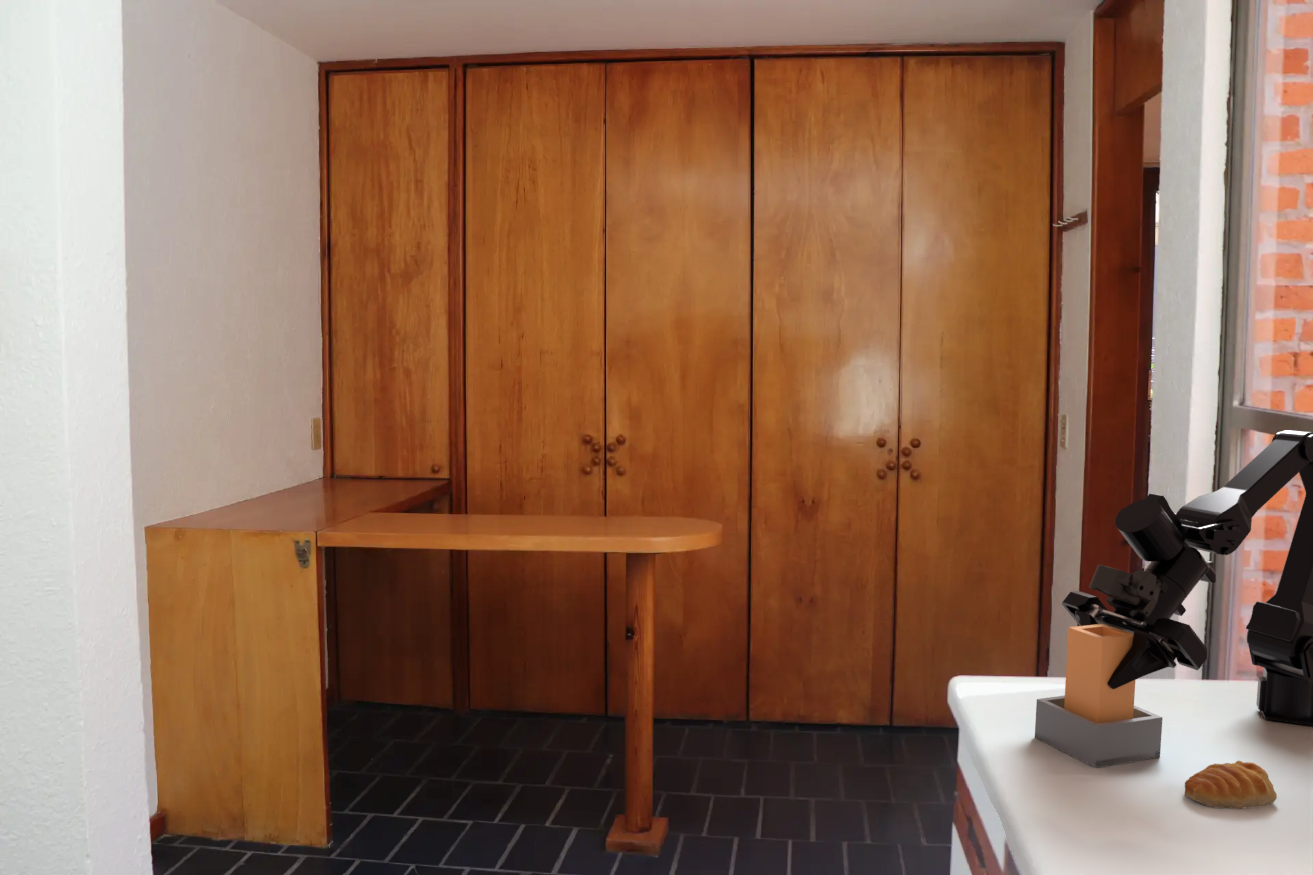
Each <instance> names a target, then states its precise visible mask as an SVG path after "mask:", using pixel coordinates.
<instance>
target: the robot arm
mask: <svg viewBox="0 0 1313 875" xmlns="http://www.w3.org/2000/svg"><path fill="white" fill-rule="evenodd" d="M1298 474H1299V476H1300V480H1301V482H1302V486H1303V488H1304V491H1305V496H1304V499H1303V503H1302V506H1301V509H1300V513H1299V516H1298V520H1297V523H1296V526H1295V529H1294V532H1293V535H1292V538H1291V542H1290V546H1289V548H1288V549H1289V550H1288V552H1287V556H1286V559H1285V562H1284V565H1283V569H1282V572H1281V576H1280V579H1279V583H1278V584H1277V588H1276V591H1275V593H1274V595H1272V596H1271V597H1270V598H1268V599H1267V600H1266V601H1265V602H1263V601H1256V602H1255V604H1254V605H1253V606H1252V610H1251V616H1250V619H1249V621H1248V623H1247V625H1246V626H1245V629H1246V630H1247V634H1246V642H1247V645H1248V649H1249V654H1250V660H1251V664H1252V665H1253V666H1256V667H1261V668H1263V673H1262V674H1263V675H1260V676H1258V679H1257V689H1256V690H1257V692H1256V707H1257V709H1258V710H1259V711H1260V713H1261V714H1262V717H1263V719H1265V720H1270V721H1277V722H1283V723H1284V722H1285V723H1291V724H1296V725H1297V724H1300V725H1306V726H1312V727H1313V432H1311V431H1303V430H1302V431H1301V430H1290V429H1285V430H1283V431H1278V432H1276V433H1275V434H1274V436H1273V437H1272V439H1271V442H1270V444H1268V445H1267V446H1266V447H1265V448H1264V449H1263V450H1262V451H1260V453H1258V454H1257V455H1256V456H1255V457H1254V458H1253V459H1252V460H1250V462H1249V463H1247V464H1246V465H1245V467H1243V468H1242V469H1241V470H1240V471H1239V472H1238V473H1236V474H1235V475H1234V476H1233V477H1232V478H1231V479H1230V480H1229V481H1227V483H1226V484H1225V485H1223V486H1222V487H1221V488H1219V489H1218V490H1216V491H1213V492H1209V493H1205V494H1203V495H1200V496H1197V497H1195V498H1194V499H1192V500H1191V501H1189V502H1188V503H1186V504H1184V505H1183V506H1182V507H1180V508H1179V510H1178V511H1177V512H1174V511H1173V510H1172V508H1171V507H1170V505H1169V502H1168V500H1167V498H1166V497H1165V496H1164V495H1163V494H1157V493H1151V492H1150V493H1149V494H1147V496H1146V497H1145V499H1140V500H1137V501H1134V502H1132V503H1130V504H1128V505H1126V506H1125V507H1123V508H1121V509H1120V510H1119V512H1117V515H1116V517H1115V521H1114V522H1115V523H1114V524H1115V526H1116V528H1117V530H1118V531H1119V532H1120V534H1121V535H1122V536H1123V537H1124V539H1125V540H1126V542H1127V543H1128V544H1129V546H1130V547H1131V548H1132V549H1133V551H1134V552H1135V554H1136V555H1137V556H1138V557H1139V558H1140V560H1143V561H1146V562H1150V563H1149V564H1148V565H1147V567H1146V568H1145V569H1144V570H1141V569H1137V570H1135V571H1134V572H1132V573H1129V572H1126V571H1124V570H1121V569H1117V568H1113V567H1110V566H1107V565H1103V564H1098V565H1097V567H1096V568H1095V571H1094V574H1093V576H1092V579H1091V580H1090V581H1091V582H1090V584H1089V586H1088V588H1089V589H1091V590H1093V591H1097V592H1100V593H1101V594H1103V595H1105V596H1107V598H1106V599H1105V601H1106V602H1107V603H1108V604H1109V606H1111V607H1113V608H1114V610H1113V611H1110V610H1109V609H1107V607H1106V606H1105V605H1104V604H1103V602H1102V601H1101V599H1100V598H1099V597H1098V596H1095V595H1092V594H1090V593H1087V592H1083V591H1080V590H1073V591H1070V592H1069V593H1068V594H1067V595H1066V597H1065V598H1064V600H1063V601H1062V602H1061V606H1062V607H1064V609H1065V610H1066V611H1067V612H1068V613H1069V615H1070V616H1071V617H1072V618H1073V620H1074V621H1075V622H1076V623H1077V625H1078V626H1086V625H1095V624H1106V625H1109V626H1112V627H1115V628H1118V629H1121V630H1124V631H1127V632H1130V633H1133V634H1134V635H1133V642H1132V647H1131V649H1130V650H1129V651H1128V653H1127V654H1126V655H1125V657H1124V658H1123V660H1122V661H1121V662H1120V664H1119V665H1118V667H1117V668H1116V669H1115V671H1114V672H1113V674H1112V676H1111V677H1110V679H1109V681H1108V685H1109V687H1110V688H1112V689H1116V688H1118V687H1120V686H1122V685H1125V684H1127V683H1129V682H1131V681H1134V680H1135V681H1136V680H1138V679H1140V678H1142V677H1145V676H1147V675H1150V674H1152V673H1156V672H1158V671H1162V670H1164V669H1166V668H1172V669H1174V668H1176V667H1177V665H1178V664H1179V665H1181V666H1183V667H1187V668H1190V669H1193V670H1195V671H1199V670H1200V669H1201V667H1202V666H1203V664H1204V663H1205V662H1206V661H1207V660H1208V659H1207V658H1208V647H1207V646H1206V645H1205V644H1204V643H1203V641H1202V639H1200V637H1199V636H1198V634H1197V633H1196V631H1195V630H1194V629H1193V628H1192V627H1191V625H1190V624H1187V623H1184V622H1181V621H1177V620H1174V619H1172V617H1173V616H1174V615H1177V616H1180V617H1182V616H1183V615H1184V614H1185V613H1186V611H1187V609H1186V607H1184V605H1183V603H1184V601H1185V600H1186V599H1187V598H1188V596H1189V595H1190V594H1191V592H1192V591H1193V589H1194V588H1195V587H1196V586H1197V584H1198V583H1199V582H1200V581H1201V582H1205V583H1210V584H1215V583H1216V582H1217V578H1216V576H1217V575H1216V573H1215V570H1214V562H1213V561H1211V560H1207V559H1205V558H1204V556H1203V555H1202V553H1201V552H1200V551H1202V552H1203V551H1204V552H1207V553H1211V554H1214V555H1215V554H1216V555H1222V556H1229V555H1231V554H1233V553H1234V552H1235V551H1236V550H1237V549H1239V547H1240V546H1241V544H1242V543H1243V541H1244V540H1245V539H1246V538H1247V536H1248V535H1249V534H1250V533H1251V531H1252V522H1253V521H1252V520H1253V517H1254V516H1255V515H1256V513H1257V512H1258V511H1259V510H1260V509H1261V508H1263V507H1264V506H1265V505H1266V504H1267V503H1268V502H1269V501H1270V500H1271V499H1272V498H1273V497H1274V496H1275V495H1276V494H1277V493H1279V492H1280V491H1281V489H1283V488H1284V487H1285V486H1286V485H1287V484H1288V483H1289V482H1290V481H1291V480H1292V479H1293V478H1294V477H1296V476H1297V475H1298ZM1175 660H1176V661H1175ZM1176 662H1177V663H1178V664H1177V663H1176Z"/></svg>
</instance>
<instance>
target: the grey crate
mask: <svg viewBox="0 0 1313 875" xmlns="http://www.w3.org/2000/svg"><path fill="white" fill-rule="evenodd" d="M1064 702H1065V694H1064V695H1058V696H1050V697H1043V698H1037V699H1036V706H1035V725H1034V726H1035V727H1034V738H1035V739H1037V740H1039V741H1042V742H1043V743H1044V744H1047V745H1049V746H1051V747H1053V748H1055V749H1056V750H1059V751H1061V752H1063V753H1065V754H1067V755H1069V756H1070V757H1073V758H1074V759H1077V760H1079V761H1081V762H1082V763H1084V764H1087V765H1089V766H1091V767H1092V768H1094V769H1097V768H1102V767H1103V768H1104V767H1109V766H1115V765H1120V764H1127V763H1133V762H1134V763H1135V762H1139V761H1144V760H1145V761H1146V760H1149V759H1150V760H1151V759H1156V758H1157V759H1158V758H1160V757H1161V745H1162V731H1163V716H1161V715H1158V714H1156V713H1154V712H1150V711H1148V710H1146V709H1144V708H1142V707H1139V706H1136V705H1134V712H1133V719H1127V720H1121V721H1114V722H1107V723H1100V724H1097V723H1095V722H1092V721H1090V720H1088V719H1086V718H1084V717H1081V716H1079V715H1077V714H1075V713H1073V712H1070V711H1068V710H1066V709H1064Z"/></svg>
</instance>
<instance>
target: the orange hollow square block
mask: <svg viewBox="0 0 1313 875" xmlns="http://www.w3.org/2000/svg"><path fill="white" fill-rule="evenodd" d="M1133 635H1134V634H1133V633H1130V632H1127V631H1124V630H1121V629H1118V628H1115V627H1112V626H1109V625H1106V624H1095V625H1086V626H1079V625H1077V626H1069V627H1068V631H1067V645H1066V646H1067V647H1066V649H1067V650H1066V651H1067V652H1066V666H1065V667H1066V669H1065V684H1064V685H1065V687H1064V688H1065V689H1064V695H1065V702H1064V709H1066V710H1068V711H1070V712H1073V713H1075V714H1077V715H1079V716H1081V717H1084V718H1086V719H1088V720H1090V721H1092V722H1095V723H1097V724H1100V723H1107V722H1114V721H1121V720H1127V719H1133V712H1134V706H1135V696H1136V695H1135V692H1136V691H1135V690H1136V680H1134V681H1131V682H1129V683H1127V684H1125V685H1122V686H1120V687H1118V688H1116V689H1112V688H1110V687H1109V685H1108V681H1109V679H1110V677H1111V676H1112V674H1113V672H1114V671H1115V669H1116V668H1117V667H1118V665H1119V664H1120V662H1121V661H1122V660H1123V658H1124V657H1125V655H1126V654H1127V653H1128V651H1129V650H1130V649H1131V647H1132V642H1133Z"/></svg>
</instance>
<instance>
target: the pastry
mask: <svg viewBox="0 0 1313 875" xmlns="http://www.w3.org/2000/svg"><path fill="white" fill-rule="evenodd" d="M1183 793H1184V797H1188V798H1190V799H1191V800H1193V801H1196V802H1198V803H1201V804H1202V805H1205V806H1207V807H1210V808H1224V809H1235V810H1243V809H1249V808H1262V807H1267V806H1270V805H1272V804H1273V803H1274V802H1275V801H1276V800H1277V798H1278V794H1277V792H1276V791H1275V787H1274V784H1273V782H1272V781H1271V780H1270V778H1269V774H1268V772H1267V771H1266V769H1264V768H1262V767H1261V766H1260V765H1258V764H1256V763H1254V762H1251V761H1249V762H1248V761H1247V762H1244V761H1242V760H1237V761H1235V762H1233V763H1231V762H1229V763H1228V762H1225V763H1212V764H1209V765H1208V766H1206V767H1205V768H1203V769H1202V770H1200V771H1198V772H1196V773H1195V774H1193V775H1192V776H1190V777H1189V778H1188V779H1187V780H1185V782H1184V792H1183Z"/></svg>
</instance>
